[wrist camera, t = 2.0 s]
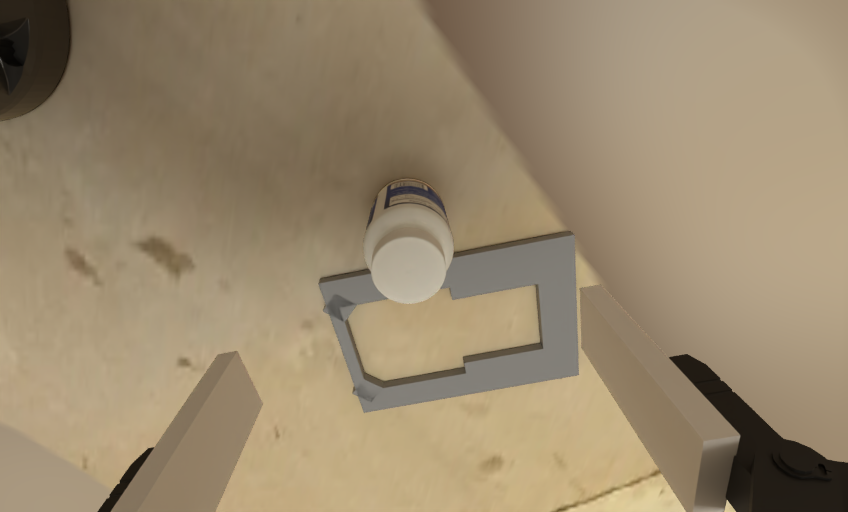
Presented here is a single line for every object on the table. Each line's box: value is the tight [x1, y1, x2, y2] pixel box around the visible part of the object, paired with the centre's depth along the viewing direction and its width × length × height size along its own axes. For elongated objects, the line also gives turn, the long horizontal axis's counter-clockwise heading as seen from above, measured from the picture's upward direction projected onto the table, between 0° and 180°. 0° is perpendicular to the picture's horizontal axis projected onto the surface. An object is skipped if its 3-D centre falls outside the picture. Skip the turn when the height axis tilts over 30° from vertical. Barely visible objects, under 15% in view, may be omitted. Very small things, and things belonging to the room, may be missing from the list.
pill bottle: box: [363, 179, 454, 304], centre depth 25 cm, size 5×5×10 cm
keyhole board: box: [318, 231, 579, 413], centre depth 33 cm, size 14×20×1 cm
